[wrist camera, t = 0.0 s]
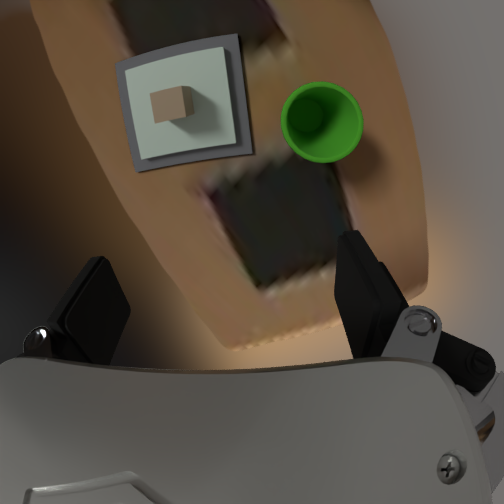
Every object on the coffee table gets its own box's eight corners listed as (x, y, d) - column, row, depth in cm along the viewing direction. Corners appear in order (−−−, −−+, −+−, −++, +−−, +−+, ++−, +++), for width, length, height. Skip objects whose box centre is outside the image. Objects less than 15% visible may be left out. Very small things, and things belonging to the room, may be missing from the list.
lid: (128, 71, 30) (108, 69, 25) (224, 48, 29) (218, 39, 24) (144, 157, 37) (127, 169, 32) (236, 141, 36) (233, 150, 31)
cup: (347, 124, 35) (378, 136, 26) (297, 156, 38) (312, 178, 29) (312, 73, 31) (334, 66, 22) (259, 107, 34) (262, 112, 25)
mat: (116, 63, 29) (115, 63, 29) (237, 34, 28) (237, 33, 28) (137, 171, 39) (135, 172, 39) (252, 152, 38) (252, 153, 37)
